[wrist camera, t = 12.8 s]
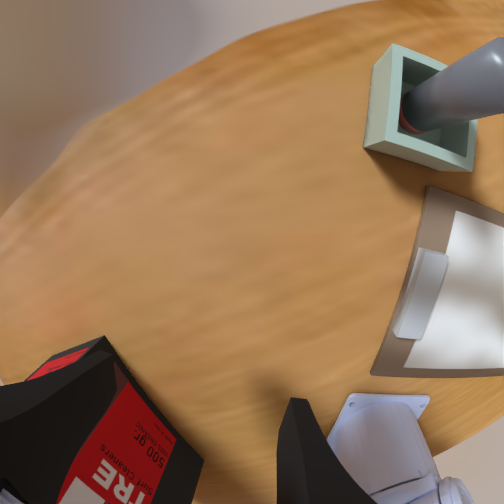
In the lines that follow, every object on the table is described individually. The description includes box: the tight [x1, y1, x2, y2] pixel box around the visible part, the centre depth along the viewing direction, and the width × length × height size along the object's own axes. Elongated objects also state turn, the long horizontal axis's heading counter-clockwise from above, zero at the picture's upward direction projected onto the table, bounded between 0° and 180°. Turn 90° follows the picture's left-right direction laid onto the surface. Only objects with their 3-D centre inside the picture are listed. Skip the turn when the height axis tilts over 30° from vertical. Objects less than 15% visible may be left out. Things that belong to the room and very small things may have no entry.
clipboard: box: [370, 186, 504, 378], centre depth 17 cm, size 14×18×1 cm
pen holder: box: [363, 43, 477, 172], centre depth 13 cm, size 6×6×4 cm
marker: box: [398, 37, 504, 134], centre depth 10 cm, size 3×3×10 cm
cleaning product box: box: [22, 335, 204, 504], centre depth 14 cm, size 16×9×20 cm, turn 26°
